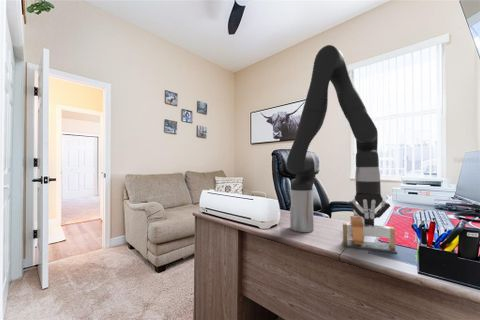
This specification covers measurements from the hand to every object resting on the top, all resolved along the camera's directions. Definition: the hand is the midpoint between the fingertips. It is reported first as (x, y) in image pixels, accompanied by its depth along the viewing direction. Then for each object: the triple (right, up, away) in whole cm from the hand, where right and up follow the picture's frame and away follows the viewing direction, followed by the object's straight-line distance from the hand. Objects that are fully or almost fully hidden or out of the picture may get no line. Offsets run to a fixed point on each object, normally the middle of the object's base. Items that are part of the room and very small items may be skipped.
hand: (369, 228), depth 74 cm
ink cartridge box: (+6, -6, +15) cm, 17 cm away
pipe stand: (-2, -5, -3) cm, 6 cm away
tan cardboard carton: (-5, -3, -2) cm, 6 cm away
